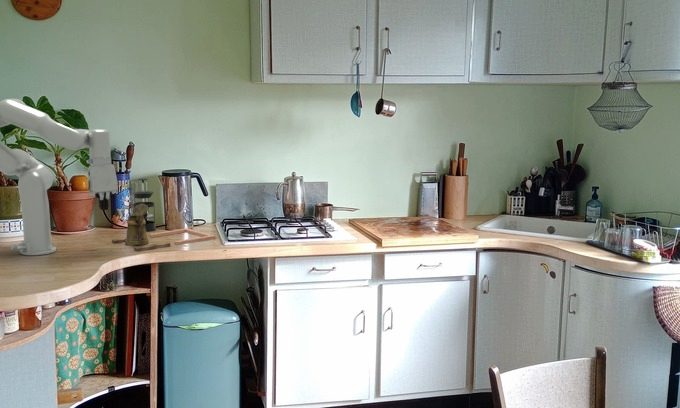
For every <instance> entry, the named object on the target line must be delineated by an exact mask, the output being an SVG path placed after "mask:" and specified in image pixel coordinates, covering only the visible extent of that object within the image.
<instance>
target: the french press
mask: <svg viewBox="0 0 680 408" xmlns="http://www.w3.org/2000/svg"><path fill="white" fill-rule="evenodd" d="M137 180H138V181H141V184H142V190H139V191H133V192H132V194H133V198H134V199H142V200H143V201H138V202H134V203H129V204H128V217H129V216H131V206H133V208H134V207H135V206H136V205H138V204H140V203H144V204H146V205H147V206H148V209H149V208H153V214H151V213H150V214H149V213H148V211H147V212H146V214H145V215H144V219H145V222H146V224H145V228H146V233H148V232H150V233H151V232H154V231H157V230H156V229H157V228H156V210H155V209H156V206H155V202H154V201H145V199H150V198H151V197H152V196H153V194H154V193H155V191H152V190H145V189H144V184H145V181H147V180H148V178H145V177H144V178H138V179H137ZM152 218H153V219H154V220H148V219H152Z"/></svg>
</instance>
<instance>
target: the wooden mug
mask: <svg viewBox="0 0 680 408" xmlns="http://www.w3.org/2000/svg"><path fill="white" fill-rule="evenodd" d="M148 211H149V208H148V206H147V205H146V204H144V203H140V204H138V205H136V206H135V207H133V209H132V214H133V215H130V216H129V215H128V217H127V220H126V221H127V222H126V224H127V227H126V228H127V229H126V236H125V238H126V240H125V242H124V245H125V246H130V247H139V246H145V245H149V238H148V235H147V232H146V228H145V224H146V222H145V219H144V215H145V214H146V212H147V213H148Z"/></svg>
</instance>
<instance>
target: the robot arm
mask: <svg viewBox="0 0 680 408" xmlns="http://www.w3.org/2000/svg"><path fill="white" fill-rule="evenodd" d="M9 125H13V126H16V127H18V128H20V129H23V130H25V131H28V132H30V133H33V134H35V135H37V136H38V137H40V138H42V139H45V140H46V141H48V142H50V143H53V144H54V145H57V146H60V147H62V148H65V149H67V150H70V151H79V150H82V149H85V148H86V149H87V148H88V149H89V159H87V160H86V164H89V166H88V169H87V170H88V171H87V189H88V195H89V196H91V197H95V198H96V199H97V200H98V206H99V209H100V211H107V210H108V209H109V206H110V205H109V200H110V197H111V196H112V195H114V194H117V193H118V188H119V187H118V185H119V183H118V178H117V174H116V173H117V172H116V168H115V166H114V165H115V164H112V157H111V154H112V153H111V142H110V140H111V139H110V131H109V130H108V129H105V128H95V129H85V128H84V129H83V128H75V129H74V128H71V127H68V126H66V125H63V124H61V123H59V122H57V121H55V119H54V120H53V119H52V118H51V116H50V115H49V114H48V113H46V112H43V111H41V110H39V109H36V108H33V107H31V106H29V105H27V104H26V103H25V102H24V101H22V100H21V99H20V98H19V99H18V98H6V99H2V100H1V101H0V128H3V127H5V126H9ZM0 172H1V174H4V175H5V176H16V177H18V178H19V179H18V183H17V187H18V192H19V198H20V207H21V217H22V218H21V219H22V230H23V231H22V232H23V240H22V241H21V242H20V243H18V244H10V250H11V251H19V252H20V254H21V255H23V256H41V255H43V256H44V255H49V254H52V253H55V252H56V251H57V247H56V246H54V245H52V230H51V218H50V217H51V216H50V202H49V197H48V190H49V189H50V188H51V187H52V186H53V183H54V176H53V174H52V172H51V171H50V170H49V168H47V167H46V166H45V165H43V164H42V163H41V162H40V161H38V160H37V159H36V158H35V157H34V156H32V154H31V155H30V154H29V152H27V151H25V150H23V149H21V148H10V147H9V146H7V145H6V144H5V143H3V142H2V140H0Z"/></svg>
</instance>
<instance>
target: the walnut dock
mask: <svg viewBox="0 0 680 408" xmlns="http://www.w3.org/2000/svg"><path fill="white" fill-rule="evenodd" d="M125 240H126V237H121V238H115V239H114V238H113V239H111V243H112V244H114V245H115V244H116V245H117V244H123V243H125ZM169 247H171V243H170V242H167V241H165V242H159V243H152V244H146V245H140V246H133V251H135V252H139V253H140V252H144V251H150V250H157V249H162V248H169Z"/></svg>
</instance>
